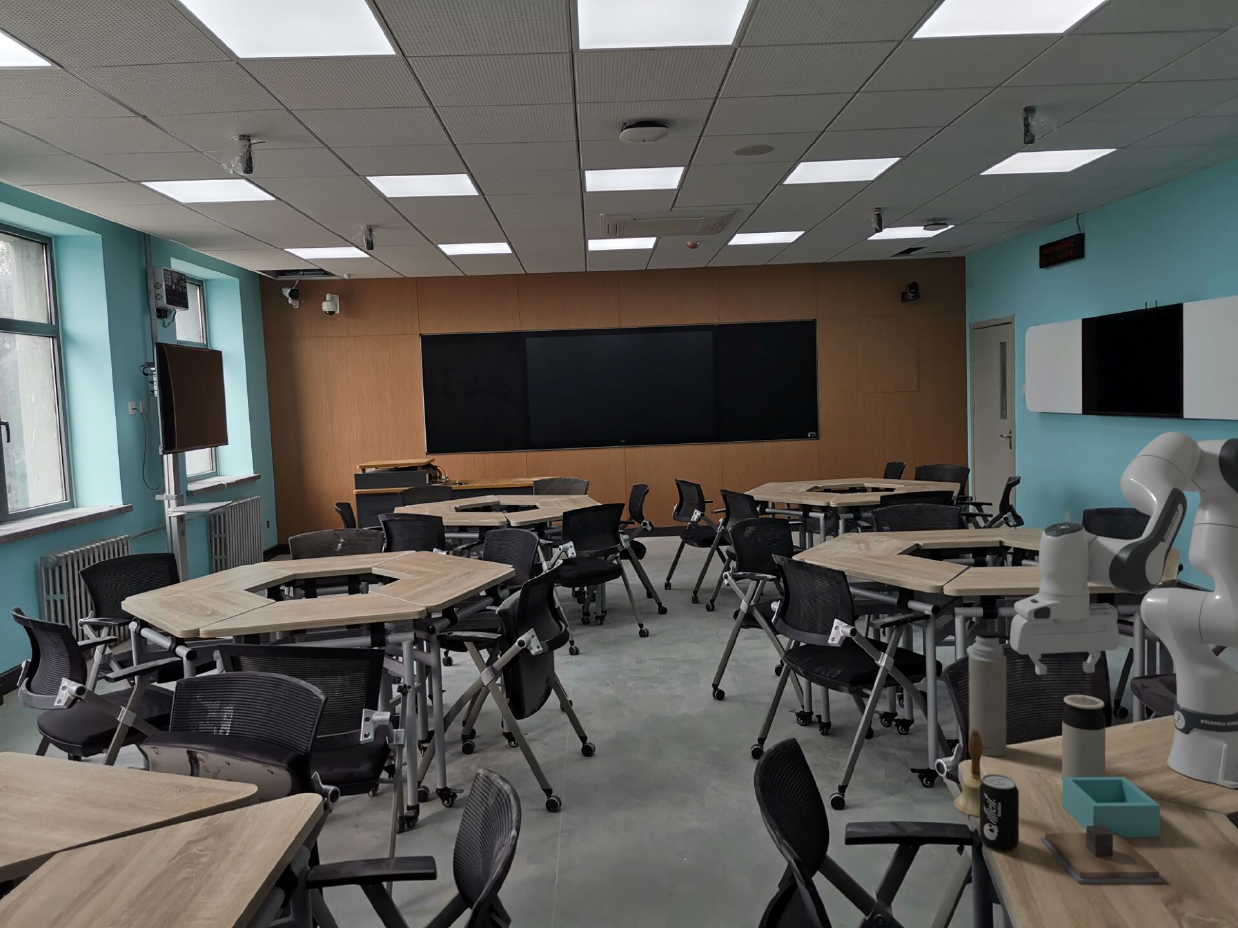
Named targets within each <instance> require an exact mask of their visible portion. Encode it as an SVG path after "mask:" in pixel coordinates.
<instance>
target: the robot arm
mask: <svg viewBox="0 0 1238 928" xmlns="http://www.w3.org/2000/svg"><path fill="white" fill-rule="evenodd" d="M1119 484H1120V486H1119V487H1120V491H1121V493H1122V496H1123V497H1124V498H1125V500H1126V501H1127V502H1128V503H1129V505H1130V506H1132V508H1134V509H1135V510H1137V511H1138V512H1140V513H1142V514H1145V515H1147V516H1149V520H1148V522H1147V524H1146V527H1145V529H1144V531H1143V533H1142V535H1141V536H1140V537H1138V538H1134V539H1120V538H1113V537H1107V536H1106V537H1105V536H1100V535H1096V534H1094V533H1090V532H1088V531H1087V530H1086V529H1085V527H1084V526H1083V525H1082V524H1079V523H1076V522H1061V523H1060V522H1059V523H1058V522H1057V523H1053V524H1050V525H1048V526H1047V527H1045V528H1044V529H1043V531H1042V532H1041V537H1040V541H1039V552H1038V569H1039V572H1040V578H1041V579H1040V584H1039V591H1038V593H1036V594H1034V595H1031V596H1029V597H1026V598H1024V599H1020V600H1018V601H1016V602H1015V603H1014V604H1013V606H1014V607H1013V609H1014V611H1015V613H1016V614H1014V616H1013V618H1012V620H1011V625H1010V637H1009V642H1010V643H1009V644H1010V647H1011V648H1012V650H1014V651H1015V652H1017V654H1020V655H1025V656H1026V655H1029V658H1030V659H1031V661H1032V662H1033V664H1034V665H1035V666H1034V667H1035V668H1034V669H1035V673H1036V675H1038V676H1040V675H1041V676H1043V675H1047V673H1048V672H1047V670H1048V669H1047V665H1045V664H1043V663H1041V662H1040V659H1042V655H1044V654H1059V653H1061V654H1062V653H1063V654H1064V653H1085V652H1086V653H1087V652H1088V654H1089V655H1088V658H1087V660H1086V661H1082V671H1083V672H1085V673H1087V674H1088V673H1095V669H1096V668H1095V665H1096V663H1098V661H1099V659H1100V657H1101V651H1102V652H1103V651H1104V652H1105V651H1107V652H1108V651H1116V650H1117V649H1118V648H1119V647H1120V643H1121V642H1120V633H1119V627H1118V619H1119V618H1118V617H1119V616H1118V615H1119V614H1118V609H1117V608H1116V607H1115V606H1114V605H1112V604H1110V603H1107V602H1103V603H1090V588H1089V584H1088V583H1091V584H1094V585H1099V586H1103V587H1109V588H1114V589H1117V590H1120V591H1124V592H1126V593H1127V592H1128V593H1132V594H1134V595H1142V594H1145V593H1146V594H1145V595H1144V597H1143V599H1142V601H1141V604H1140V609H1139V610H1140V617H1141V620H1142V621H1143V623H1144V625H1145V626H1146V627H1147V629H1148V630H1149V631H1151V632H1152V633H1153V634H1155V636H1156V637H1158V638H1159V639H1160V641H1161V642H1162V643H1163V644H1164V646H1165V647H1166V649H1167V650H1168V652H1169V654H1170V656H1171V659H1172V661H1173V665H1174V668H1175V669H1174V670H1175V678H1176V699H1175V701H1174V708H1173V723H1174V734H1173V740H1172V744H1171V748H1170V749H1171V750H1170V752H1169V755H1168V758H1167V759H1166V763H1167V766H1168V767H1170V769H1172V770H1174V771H1175V772H1177V773H1179V774H1181V775H1184V776H1186V777H1189V778H1192V779H1196V780H1199V781H1204V782H1208V783H1214V784H1217V785H1220V786H1222V787H1223V786H1224V787H1226V788H1230V789H1234V788H1238V673H1237V671H1236V670H1235V668H1233V667H1232V666H1231V665H1230V664H1229V663H1227V662H1226V661H1225V660H1223V659H1221V658H1220V657H1218V656H1217V655H1216V654H1215V653H1214V652H1213V650H1212V649H1211V647H1210V646H1209V645H1216V646H1220V647H1227V648H1233V649H1237V650H1238V438H1236V437H1233V438H1230V439H1228V438H1227V439H1205V440H1204V439H1203V440H1199V441H1196V440H1195V439H1193V438H1192V436H1189V435H1188V434H1185V433H1182V432H1178V431H1169V432H1168V431H1167V432H1164V433H1161V434H1159V435H1158V436H1156V437H1155V438H1154V439H1153V440H1151V441H1150V442H1149V443H1148V444H1146V445H1145V446H1144V447H1143V448H1142V449H1141V450H1140V451H1139V452H1138V453H1137V454H1136V456H1135V457H1134V458H1133V459H1132V460H1131V462H1130V463H1129V464H1128V465H1127V467H1126V468H1125V469H1124V471H1123V473H1122V475H1121V477H1120V481H1119ZM1184 492H1196V493H1197V492H1198V493H1199V497H1200V500H1199V503H1198V506H1197V510H1196V513H1195V516H1194V517H1195V518H1194V521H1193V526H1192V532H1191V538H1190V543H1189V549H1188V554H1187V557H1188V562H1189V564H1190V565H1191V566H1192V567H1193V568H1194V569H1195V570H1196V571H1197V572H1199V573H1200V574H1202V575H1203V576H1206V577H1207V578H1209V579H1211V580H1212V581H1213V582H1214V590H1213V591H1205V590H1196V589H1189V588H1184V587H1183V588H1182V587H1157V586H1158V585H1159V583H1160V582H1161V580H1162V579H1163V575H1164V571H1165V568H1166V562H1167V560H1168V556H1169V554H1170V552H1171V550H1172V548H1173V545H1174V543H1175V541H1176V539H1177V537H1178V534H1179V532H1180V530H1181V528H1182V525H1183V522H1184V519H1185V518H1186V513H1187V510H1188V501H1187V497H1186V495H1185V493H1184ZM1155 587H1157V588H1155Z"/></svg>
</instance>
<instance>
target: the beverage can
mask: <svg viewBox="0 0 1238 928" xmlns="http://www.w3.org/2000/svg"><path fill="white" fill-rule="evenodd" d="M981 779H982V782H981V784H980V817H979V839H980V841H981V842H982V843H983V844H984V845H985V846H986V847H987V848H989V849H991V850H994V851H999V852H1010V851H1013V850H1014V849H1016V848H1017V847H1019V843H1020V842H1019V839H1020V834H1019V831H1020V829H1019V828H1020V826H1019V825H1020V824H1019V823H1020V822H1019V821H1020V820H1019V819H1020V816H1019V813H1020V811H1019V810H1020V808H1019V807H1020V806H1019V805H1020V803H1019V801H1020V800H1019V798H1020V796H1019V795H1020V792H1019V789H1018V787H1017V781H1016V780H1015V779H1013V778H1012V777H1009V776H1006V775H1003V774H997V773H996V774H995V773H989V774H986V775H983V776H982V777H981Z"/></svg>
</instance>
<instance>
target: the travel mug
mask: <svg viewBox="0 0 1238 928" xmlns="http://www.w3.org/2000/svg"><path fill="white" fill-rule="evenodd" d="M1063 702H1064V703H1065V708H1064V709H1063V711H1062V714H1061V716H1062V717H1061V719H1062V720H1061V721H1062V722H1061V723H1062V725H1061V726H1062V728H1061V730H1062V731H1061V734H1062V738H1061V739H1062V741H1061V742H1062V743H1061V748H1062V749H1061V780H1062V781H1063V777H1106V723H1107V722H1106V717H1105V714H1104V713H1103V708H1104V707H1105V702H1104V701H1103V700H1102V699H1100V698H1097V697H1094V696H1090V695H1086V694H1085V695H1084V694H1069V695H1067V696H1064V698H1063Z"/></svg>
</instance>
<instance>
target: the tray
mask: <svg viewBox="0 0 1238 928" xmlns="http://www.w3.org/2000/svg"><path fill="white" fill-rule="evenodd" d="M1040 841H1041V842H1042V844H1043V845H1044V846H1045V847H1046V848H1047V849H1048V851H1049V852H1050V853H1051V854H1052V855H1053V857H1054V858H1055V859H1056V860H1057V861H1058V862H1059V863H1060V864H1061V865H1062V866H1063V867H1064V869H1065V870H1066V871H1067V872H1068V873H1069V875H1070V876H1071V877H1072V878H1073V879H1074V880H1075V882H1077V883H1078V884H1136V883H1135V882H1138V883H1137V884H1160V883H1161V884H1162V883H1164V878H1163V877H1162V876H1161V875H1159V878H1080V877H1079V876H1078V875H1077V874H1076V873H1075V872H1074V871H1073V870H1072V868H1071V867H1070V866H1069V865H1068V864H1067V863H1066V862H1065V861H1064V859H1063V858H1062V857H1061V856H1060V855H1059V854H1058V853H1057V852H1056V850H1055V849H1054V848H1053V847H1052V846H1051V845H1050V844H1049V843H1048V841H1047V840H1046V839H1045V836H1043V837H1040ZM1141 882H1142V883H1141Z"/></svg>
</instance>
